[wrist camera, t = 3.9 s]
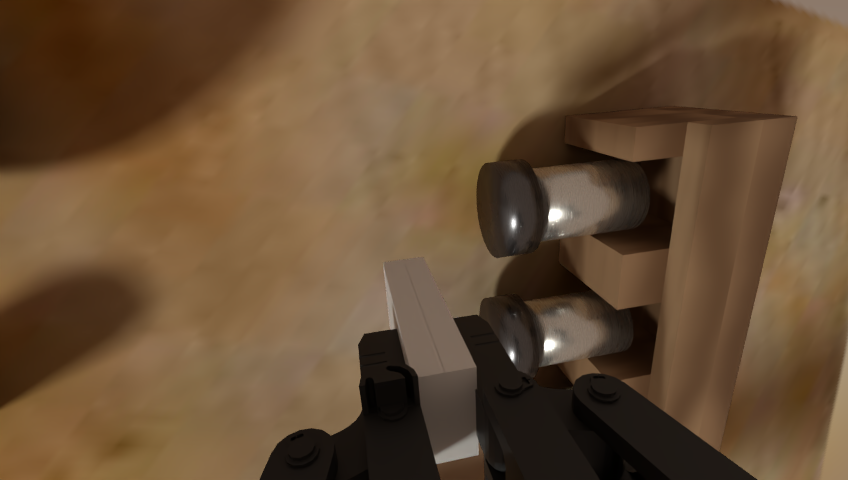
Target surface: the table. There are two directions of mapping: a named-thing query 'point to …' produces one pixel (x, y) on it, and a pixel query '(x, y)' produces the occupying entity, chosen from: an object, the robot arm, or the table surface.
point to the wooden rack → (683, 251)
